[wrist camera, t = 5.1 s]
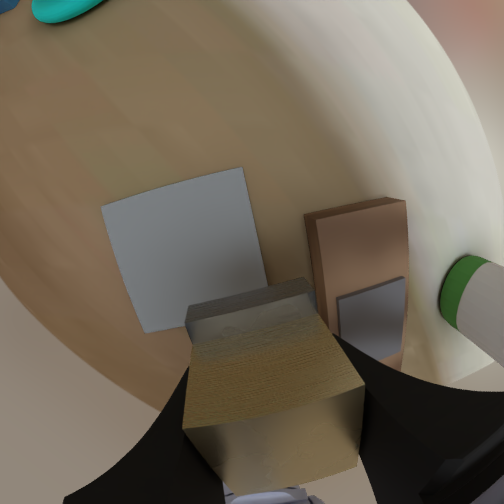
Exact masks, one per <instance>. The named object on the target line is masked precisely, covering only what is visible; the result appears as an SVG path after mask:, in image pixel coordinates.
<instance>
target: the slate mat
mask: <svg viewBox="0 0 504 504" xmlns="http://www.w3.org/2000/svg"><path fill="white" fill-rule="evenodd" d="M101 210H102V214H103V217H104V221H105V225H106V228H107V231H108V235H109V238H110V242H111V245H112V248H113V251H114V254H115V257H116V260H117V263H118V266H119V269H120V272H121V275H122V278H123V280H124V283H125V286H126V288H127V291H128V294H129V296H130V299H131V301H132V304H133V306H134V309H135V311H136V314H137V316H138V319H139V321H140V323H141V326H142V328H143V330H144V332H145V333H150V332H155V331H161V330H166V329H171V328H177V327H182V326H185V324H184V322H185V318H186V314H187V309H188V306H189V305H193V304H198V303H202V302H206V301H210V300H215V299H219V298H223V297H227V296H231V295H235V294H240V293H244V292H248V291H252V290H256V289H259V288H263V287H267V286H268V284H267V279H266V274H265V270H264V265H263V260H262V256H261V251H260V246H259V242H258V237H257V232H256V228H255V223H254V219H253V214H252V209H251V205H250V200H249V196H248V191H247V187H246V182H245V178H244V173H243V169H242V167H239V168H235V169H230V170H226V171H222V172H217V173H213V174H209V175H205V176H201V177H197V178H193V179H189V180H186V181H182V182H178V183H175V184H171V185H168V186H164V187H161V188H157V189H154V190H150V191H147V192H144V193H141V194H137V195H134V196H131V197H128V198H125V199H122V200H119V201H116V202H113V203H110V204H107V205H104V206H101Z"/></svg>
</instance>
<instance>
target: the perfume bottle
mask: <svg viewBox="0 0 504 504" xmlns="http://www.w3.org/2000/svg"><path fill="white" fill-rule="evenodd" d="M18 2H19V0H0V14H2V13H4V12H6V11H8V10H11V9H13V8H15V7H16V5H17V3H18Z"/></svg>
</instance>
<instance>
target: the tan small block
mask: <svg viewBox="0 0 504 504" xmlns="http://www.w3.org/2000/svg"><path fill="white" fill-rule="evenodd" d="M184 324H185V326H186V329H187V332H188V334H189V337H190V339H191V341H192V344H193V346H192V353H191V360H190V367H189V375H188V383H187V390H186V399H185V407H184V416H183V425H182V429H183V431H184V432H185V434H186V435H187V436H188V438H189V439H190V441H191V442H192V443H193V445H194V446H195V447H196V449H197V450H198V451H199V453H200V454H201V455H202V457H203V458H204V459H205V460H206V462H207V463H208V464H209V465H210V467H211V468H212V469H213V470H214V471H215V473H216V474H217V475H218V476H219V477H220V479H221V480H222V481H223V482H224V483H225V484H226V485H227V487H228V488H229V489H230V490H231V491H232V492H233V493H234V494H235V495H236V496H242V495H250V494H256V493H262V492H268V491H273V490H278V489H283V488H288V487H292V486H296V485H300V484H304V483H307V482H311V481H314V480H318V479H322V478H324V477H328V476H331V475H334V474H337V473H340V472H343V471H346V470H348V469H351V468H354V467H356V466H357V461H358V455H359V447H360V440H361V431H362V421H363V410H364V397H365V383H364V382H363V380H362V378H361V377H360V375H359V374H358V372H357V371H356V369H355V368H354V366H353V365H352V363H351V362H350V360H349V359H348V357H347V356H346V354H345V353H344V351H343V350H342V348H341V347H340V345H339V344H338V342H337V341H336V339H335V338H334V336H333V335H332V333H331V332H330V330H329V329H328V327H327V326H326V324H325V323H324V321H323V320H322V319H321V317H320V316H319V314H318V310H317V303H316V296H315V290H314V289H313V288H312V287H311V285H310V284H309V283H308V282H307V280H306V279H305V278H304V277H301V278H298V279H294V280H290V281H286V282H283V283H279V284H275V285H271V286H267V287H263V288H259V289H256V290H252V291H248V292H244V293H240V294H235V295H231V296H227V297H223V298H219V299H215V300H210V301H206V302H202V303H198V304H193V305H189V306H188V309H187V314H186V318H185V322H184Z"/></svg>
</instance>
